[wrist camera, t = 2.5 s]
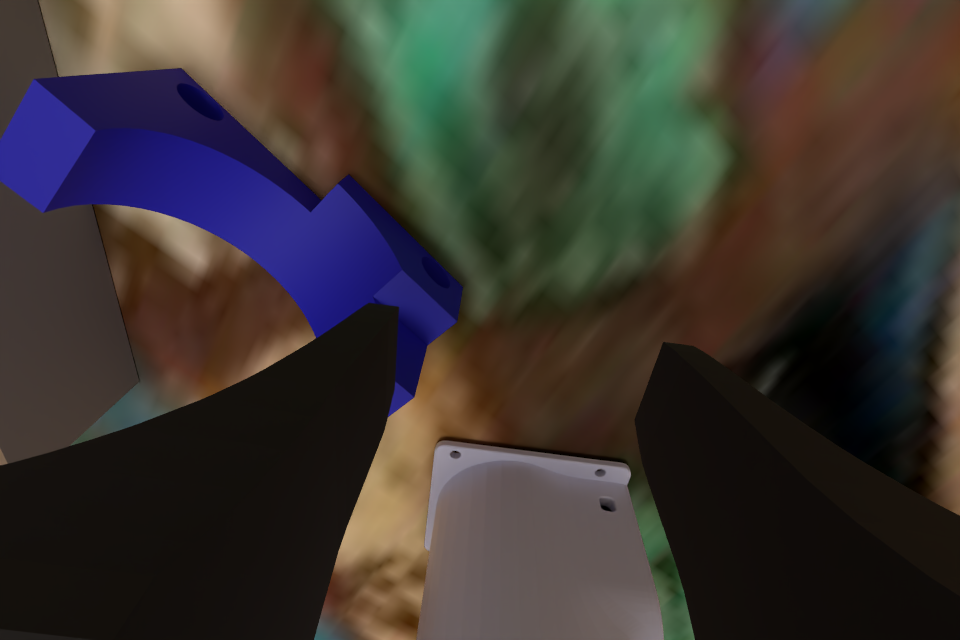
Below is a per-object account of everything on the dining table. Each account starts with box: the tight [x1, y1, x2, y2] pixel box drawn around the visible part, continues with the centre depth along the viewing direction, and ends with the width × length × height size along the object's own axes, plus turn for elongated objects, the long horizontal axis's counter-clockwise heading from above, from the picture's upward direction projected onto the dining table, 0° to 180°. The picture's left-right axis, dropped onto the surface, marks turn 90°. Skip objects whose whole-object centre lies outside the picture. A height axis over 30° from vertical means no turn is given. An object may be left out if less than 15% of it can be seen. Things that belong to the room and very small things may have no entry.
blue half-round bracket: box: [0, 68, 463, 417], centre depth 16 cm, size 12×4×6 cm, turn 43°
